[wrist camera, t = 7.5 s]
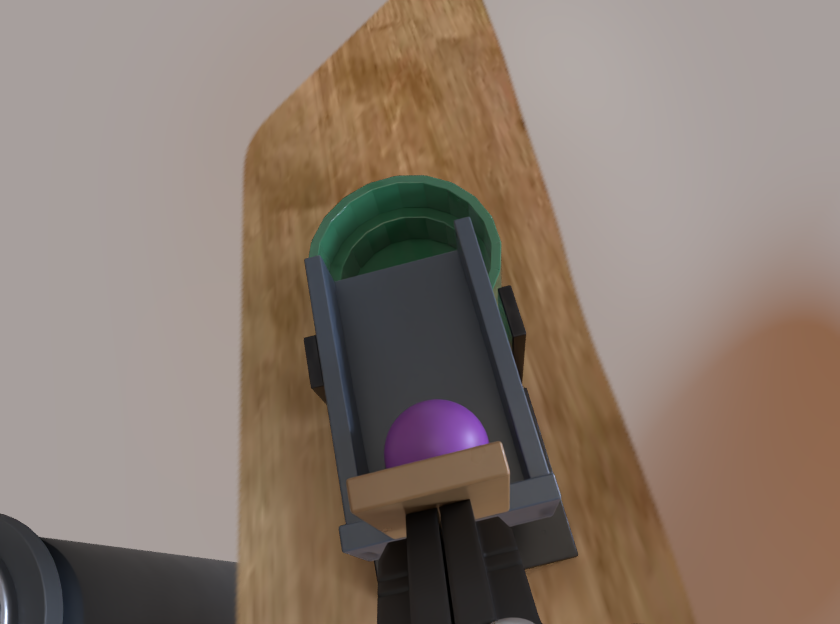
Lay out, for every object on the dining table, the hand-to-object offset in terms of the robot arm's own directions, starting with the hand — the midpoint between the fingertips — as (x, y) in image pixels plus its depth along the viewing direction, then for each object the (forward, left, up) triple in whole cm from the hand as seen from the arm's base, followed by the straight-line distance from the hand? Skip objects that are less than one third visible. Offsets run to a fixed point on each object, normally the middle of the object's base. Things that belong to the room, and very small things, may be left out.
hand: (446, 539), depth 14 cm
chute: (+4, +3, -6) cm, 8 cm away
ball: (+2, +2, -4) cm, 5 cm away
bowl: (+12, +8, -16) cm, 21 cm away
